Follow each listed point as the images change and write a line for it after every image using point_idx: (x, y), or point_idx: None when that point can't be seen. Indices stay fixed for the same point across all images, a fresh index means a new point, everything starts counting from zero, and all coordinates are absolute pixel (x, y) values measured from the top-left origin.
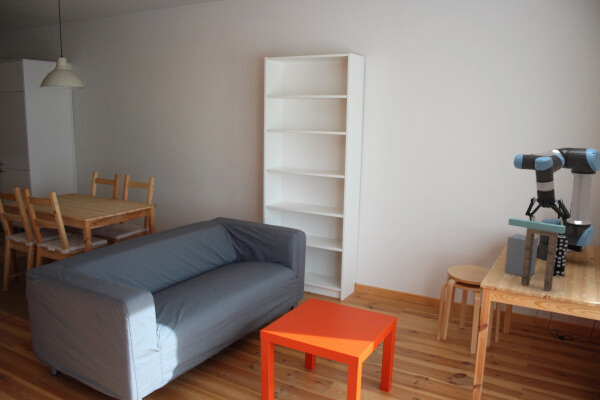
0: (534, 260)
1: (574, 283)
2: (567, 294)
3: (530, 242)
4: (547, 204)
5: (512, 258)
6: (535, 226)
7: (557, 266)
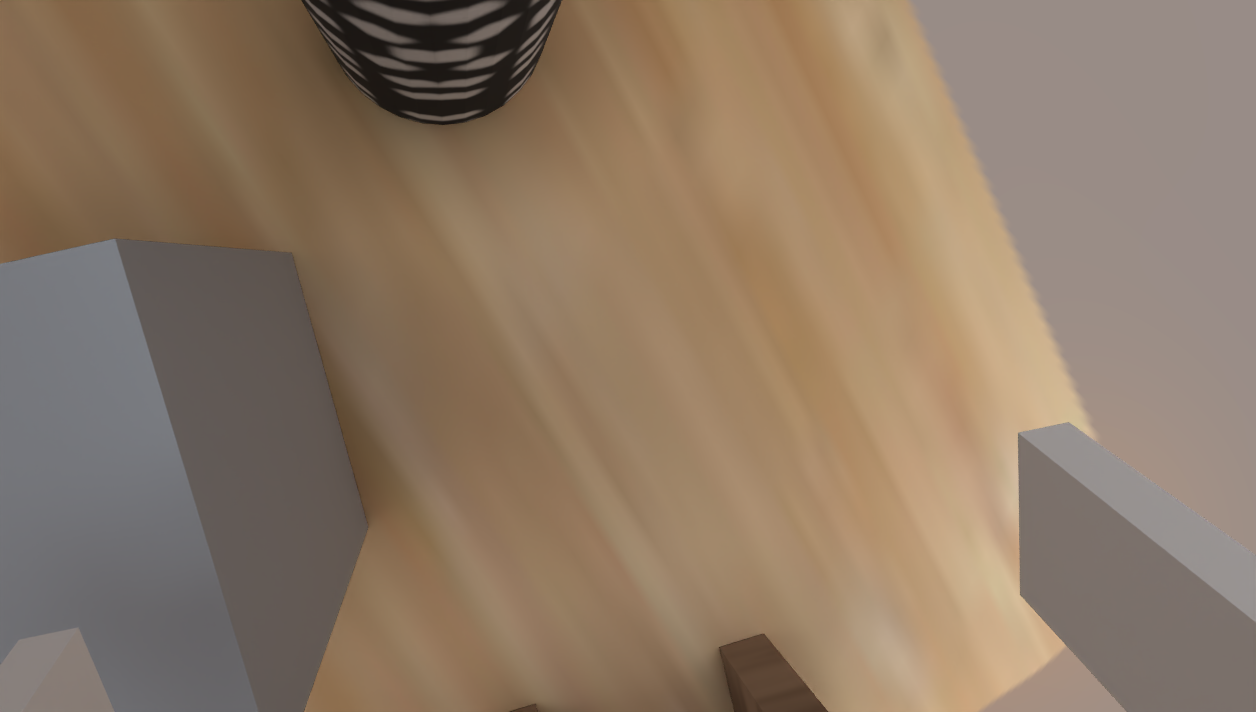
0: (270, 320)
1: (779, 189)
2: (928, 623)
3: None
4: None
5: None
6: None
7: (515, 74)
